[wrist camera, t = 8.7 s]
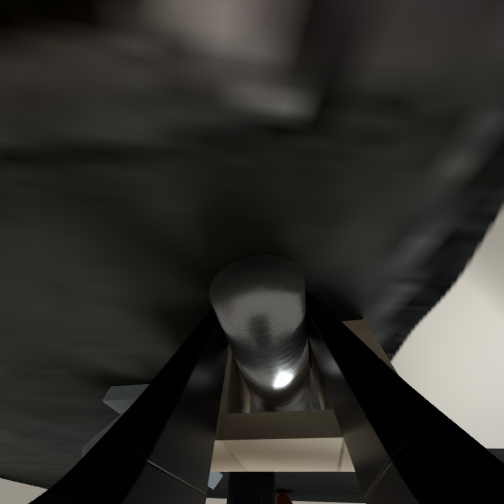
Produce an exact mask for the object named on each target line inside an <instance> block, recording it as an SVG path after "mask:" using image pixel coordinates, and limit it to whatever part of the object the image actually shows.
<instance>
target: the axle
mask: <svg viewBox="0 0 504 504" xmlns="http://www.w3.org/2000/svg"><path fill="white" fill-rule="evenodd" d="M209 298H210V301H211V304H212V306H213V308H214V311H215V313H216V315H217V318H218V320H219V322H220V325H221V327H222V329H223V332H224V334H225V336H226V338H227V341H228V343H229V345H230V348H231V350H232V352H233V355H234V357H235V359H236V362H237V364H238V366H239V369H240V371H241V373H242V376H243V378H244V380H245V383H246V385H247V387H248V390H249V392H250V394H251V397H252V399H253V401H254V404H255V406H256V408H257V411H258V412H280V411H303V410H312V400H311V383H310V367H309V351H308V334H307V318H306V302H305V285H304V275H303V272H302V270H301V268H300V267H299V266H298V265H297V264H296V263H295V262H294V261H292V260H290V259H288V258H286V257H283V256H279V255H273V254H259V255H252V256H248V257H244V258H241V259H239V260H236V261H234V262H232V263H231V264H229V265H227V266H226V267H224V268H223V269H222V270H221V271H220V272H219V273H218V274H217V275H216V276H215V277H214V279H213V280H212V282H211V285H210V288H209Z"/></svg>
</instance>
